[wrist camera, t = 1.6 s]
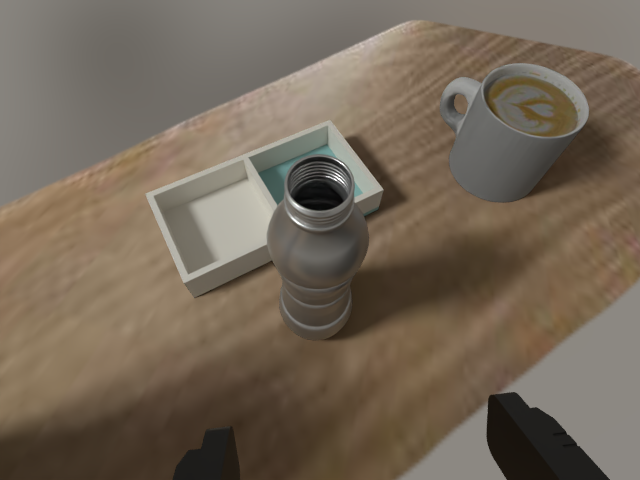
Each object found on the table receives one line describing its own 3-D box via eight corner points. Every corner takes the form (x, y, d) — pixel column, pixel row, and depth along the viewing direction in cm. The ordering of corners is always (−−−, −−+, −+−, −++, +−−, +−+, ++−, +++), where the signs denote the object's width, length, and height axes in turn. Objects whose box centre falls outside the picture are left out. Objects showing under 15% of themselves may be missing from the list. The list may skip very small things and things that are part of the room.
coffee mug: (554, 174, 46) (611, 107, 37) (495, 217, 43) (542, 156, 34) (468, 105, 51) (501, 32, 42) (410, 140, 48) (433, 69, 39)
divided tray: (194, 297, 38) (183, 283, 35) (157, 213, 43) (145, 193, 39) (378, 209, 43) (383, 189, 40) (328, 142, 48) (329, 119, 45)
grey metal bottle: (348, 278, 39) (379, 132, 22) (350, 347, 36) (389, 242, 19) (282, 277, 39) (260, 130, 22) (278, 347, 36) (249, 240, 19)
